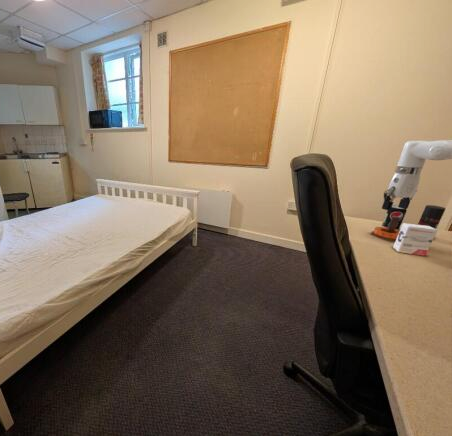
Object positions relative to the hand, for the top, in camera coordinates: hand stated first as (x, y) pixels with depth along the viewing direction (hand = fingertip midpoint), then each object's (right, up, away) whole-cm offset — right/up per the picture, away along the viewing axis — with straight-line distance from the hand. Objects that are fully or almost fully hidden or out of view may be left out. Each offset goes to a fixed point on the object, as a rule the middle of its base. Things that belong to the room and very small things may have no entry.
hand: (394, 208), depth 100 cm
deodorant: (+21, -13, +7) cm, 26 cm away
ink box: (-2, -19, -7) cm, 20 cm away
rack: (+4, -13, +6) cm, 15 cm away
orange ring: (+2, -12, +5) cm, 13 cm away
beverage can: (+15, -10, +16) cm, 24 cm away
